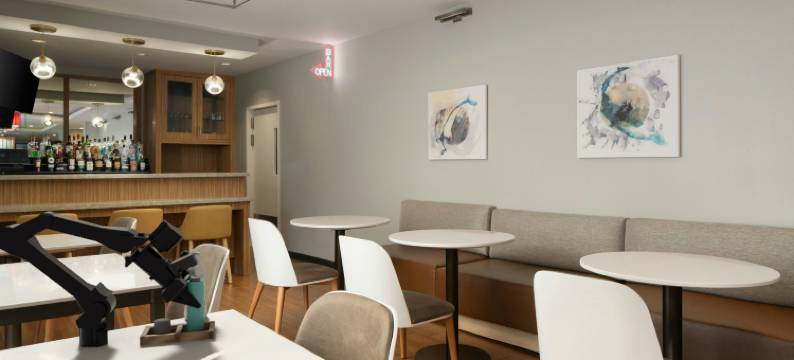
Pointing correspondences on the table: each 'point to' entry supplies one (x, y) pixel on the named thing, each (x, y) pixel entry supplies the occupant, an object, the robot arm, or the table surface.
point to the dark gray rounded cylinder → (162, 326)
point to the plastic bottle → (198, 272)
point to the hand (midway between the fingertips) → (200, 304)
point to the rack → (177, 334)
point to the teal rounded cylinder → (194, 314)
